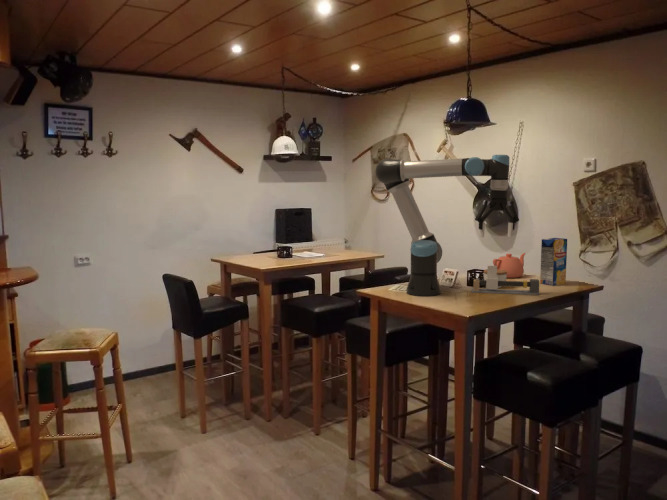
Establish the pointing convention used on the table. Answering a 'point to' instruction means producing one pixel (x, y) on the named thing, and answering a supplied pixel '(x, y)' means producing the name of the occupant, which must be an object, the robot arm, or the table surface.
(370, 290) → the table surface
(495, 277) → the grey upright block
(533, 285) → the cord rig
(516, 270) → the teapot
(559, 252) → the beverage box
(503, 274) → the lidded jar
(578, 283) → the table surface
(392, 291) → the table surface
